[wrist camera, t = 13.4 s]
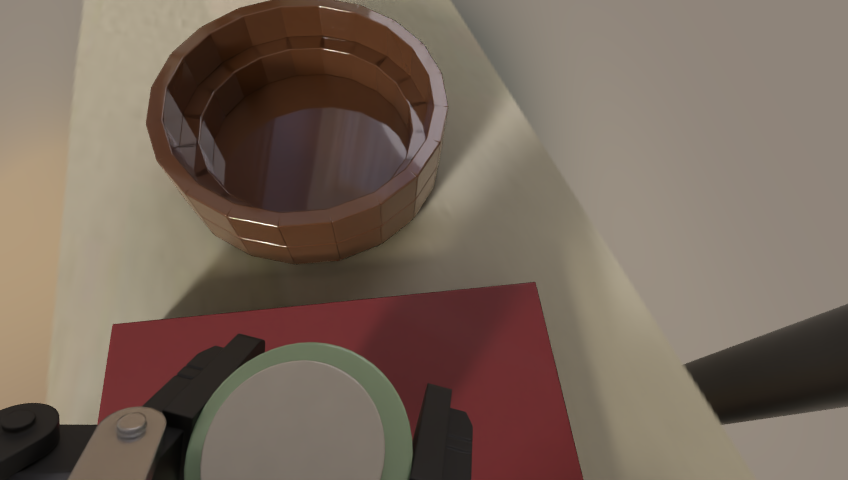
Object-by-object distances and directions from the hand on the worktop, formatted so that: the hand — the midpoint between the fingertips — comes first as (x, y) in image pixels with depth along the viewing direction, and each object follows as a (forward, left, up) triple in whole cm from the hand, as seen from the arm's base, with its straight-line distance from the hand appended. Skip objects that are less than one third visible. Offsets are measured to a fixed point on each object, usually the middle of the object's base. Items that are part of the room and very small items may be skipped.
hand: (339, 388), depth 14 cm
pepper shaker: (+1, +2, -6) cm, 6 cm away
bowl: (+2, -16, -11) cm, 20 cm away
